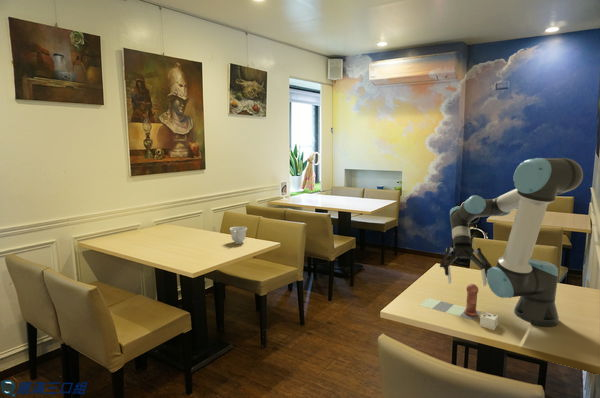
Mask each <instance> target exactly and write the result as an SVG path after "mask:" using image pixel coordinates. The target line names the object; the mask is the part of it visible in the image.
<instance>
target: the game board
mask: <svg viewBox="0 0 600 398" xmlns="http://www.w3.org/2000/svg"><path fill="white" fill-rule="evenodd" d="M419 306H421V307H425V308H428V309H432V310H436V311H438V312H442V313H446V314H450V315H453V316H458V317H460V318H464V319H467V320H472V321H475V320H476V319H477V318H478V317H479V316H480V315H481V314H482V311H480V310H477V309H476V311H477V316H475V317H472V316H467V315H465V314H464V310H465V309H466V306H461V305H458V304H453V303H450V302H445V301H443V300H439V299H435V298H432V297H431V298H430V297H427V298H426V299H425V300H424V301H422V303H420V304H419Z"/></svg>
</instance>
